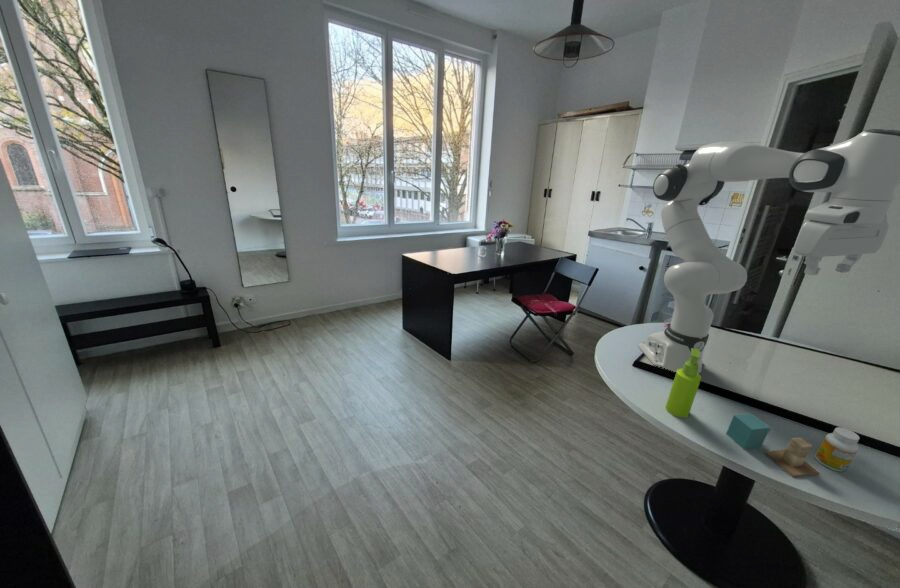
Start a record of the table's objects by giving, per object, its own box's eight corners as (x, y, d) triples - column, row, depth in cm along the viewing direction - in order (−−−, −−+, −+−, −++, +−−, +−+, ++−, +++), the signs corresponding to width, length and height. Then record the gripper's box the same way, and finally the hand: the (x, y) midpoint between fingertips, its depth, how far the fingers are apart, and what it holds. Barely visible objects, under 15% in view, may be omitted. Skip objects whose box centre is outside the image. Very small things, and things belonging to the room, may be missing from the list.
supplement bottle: (813, 450, 88) (829, 421, 84) (843, 461, 85) (861, 431, 81) (816, 464, 84) (833, 434, 81) (847, 476, 81) (866, 445, 77)
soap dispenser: (689, 406, 103) (708, 350, 96) (688, 420, 98) (708, 362, 90) (666, 399, 106) (683, 344, 99) (664, 412, 101) (682, 355, 93)
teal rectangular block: (726, 433, 93) (733, 415, 91) (743, 432, 94) (751, 413, 91) (743, 448, 88) (752, 429, 86) (761, 447, 89) (770, 427, 87)
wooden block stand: (764, 453, 87) (774, 432, 85) (788, 450, 88) (799, 430, 85) (792, 477, 81) (804, 455, 78) (818, 474, 82) (831, 452, 79)
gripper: (870, 208, 78) (843, 266, 83) (800, 211, 74) (776, 271, 79) (909, 213, 72) (877, 274, 77) (836, 216, 68) (808, 280, 73)
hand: (826, 273), depth 78 cm, fingers open, 8 cm apart
